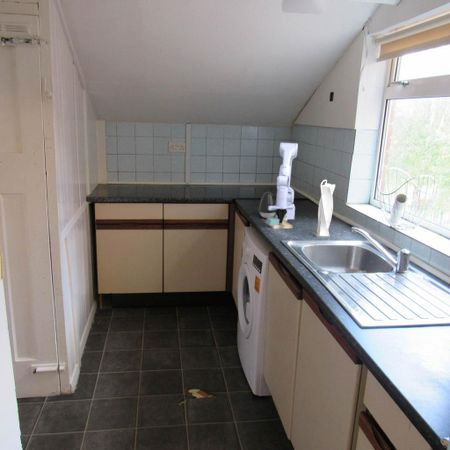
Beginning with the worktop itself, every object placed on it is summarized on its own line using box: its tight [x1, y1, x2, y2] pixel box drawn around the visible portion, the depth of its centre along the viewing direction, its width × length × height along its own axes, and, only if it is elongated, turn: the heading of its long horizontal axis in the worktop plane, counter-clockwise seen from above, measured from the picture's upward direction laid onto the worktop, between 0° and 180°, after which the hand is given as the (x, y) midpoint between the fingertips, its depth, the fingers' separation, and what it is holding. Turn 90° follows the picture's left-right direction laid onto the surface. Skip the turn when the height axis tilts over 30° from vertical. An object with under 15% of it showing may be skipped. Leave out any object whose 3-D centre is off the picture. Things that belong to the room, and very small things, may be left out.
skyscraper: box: [312, 179, 336, 239], centre depth 218 cm, size 8×8×28 cm
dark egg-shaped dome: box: [258, 191, 277, 219], centre depth 255 cm, size 10×10×15 cm
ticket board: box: [264, 214, 293, 230], centre depth 238 cm, size 11×13×5 cm
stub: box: [266, 216, 279, 225], centre depth 234 cm, size 5×5×3 cm
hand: (280, 222), depth 235 cm, fingers closed
